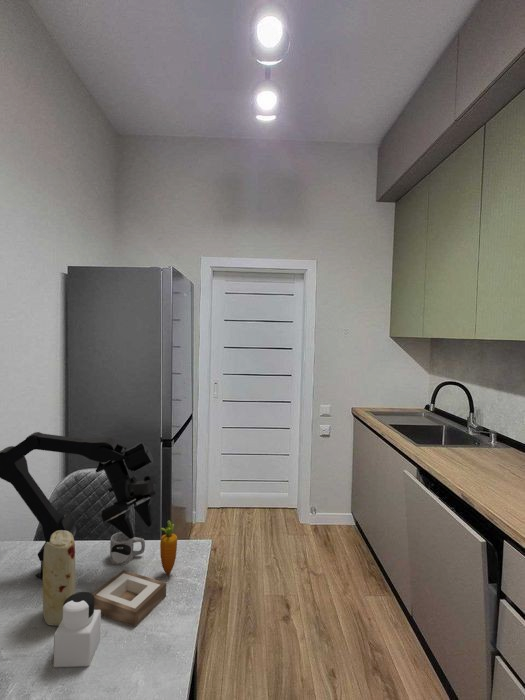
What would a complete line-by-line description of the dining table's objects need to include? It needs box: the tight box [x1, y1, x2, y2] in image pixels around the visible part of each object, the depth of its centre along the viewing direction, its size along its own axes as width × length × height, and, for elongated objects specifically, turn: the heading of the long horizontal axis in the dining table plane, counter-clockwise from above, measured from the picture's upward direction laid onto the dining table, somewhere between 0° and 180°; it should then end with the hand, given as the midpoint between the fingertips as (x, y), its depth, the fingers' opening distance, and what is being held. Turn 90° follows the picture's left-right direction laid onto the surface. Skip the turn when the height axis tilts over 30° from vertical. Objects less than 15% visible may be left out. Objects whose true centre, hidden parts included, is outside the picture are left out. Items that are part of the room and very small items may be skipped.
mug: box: [109, 531, 146, 566], centre depth 119 cm, size 10×7×7 cm, turn 104°
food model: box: [42, 530, 76, 627], centre depth 93 cm, size 10×7×20 cm
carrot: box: [159, 520, 178, 576], centre depth 112 cm, size 5×5×15 cm
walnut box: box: [91, 569, 167, 628], centre depth 99 cm, size 14×12×4 cm
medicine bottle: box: [53, 591, 102, 668], centre depth 83 cm, size 7×7×12 cm
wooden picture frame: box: [96, 573, 160, 608], centre depth 99 cm, size 12×10×3 cm
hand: (141, 531), depth 109 cm, fingers open, 9 cm apart
